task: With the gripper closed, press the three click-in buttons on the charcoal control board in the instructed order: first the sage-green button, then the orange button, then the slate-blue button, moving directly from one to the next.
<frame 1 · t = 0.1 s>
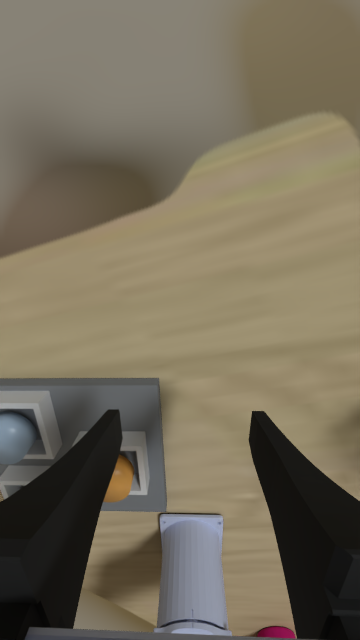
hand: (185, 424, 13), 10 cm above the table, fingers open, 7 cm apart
button blue: (6, 437, 22), point 4 cm above the table, slide at 0.0 cm
button orange: (109, 477, 24), point 4 cm above the table, slide at 0.0 cm
control board: (79, 446, 27), on the table
pepper mill: (275, 633, 41), on the table
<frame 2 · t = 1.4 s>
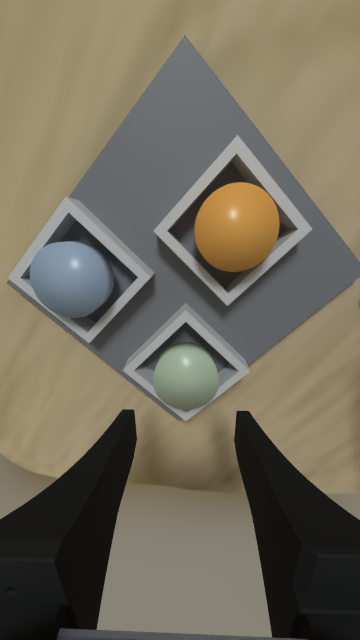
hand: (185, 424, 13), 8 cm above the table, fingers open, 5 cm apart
button blue: (74, 279, 15), point 4 cm above the table, slide at 0.0 cm
button orange: (233, 229, 14), point 4 cm above the table, slide at 0.0 cm
control board: (181, 274, 19), on the table
button sage: (185, 375, 18), point 4 cm above the table, slide at 0.0 cm
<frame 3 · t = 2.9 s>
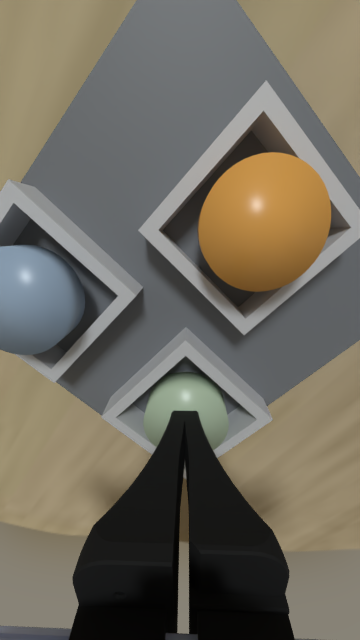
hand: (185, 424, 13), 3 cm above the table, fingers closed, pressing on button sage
button blue: (25, 299, 11), point 4 cm above the table, slide at 0.0 cm
button orange: (257, 228, 9), point 4 cm above the table, slide at 0.0 cm
control board: (179, 288, 14), on the table
button sage: (185, 414, 14), point 3 cm above the table, slide at 1.0 cm, touching gripper
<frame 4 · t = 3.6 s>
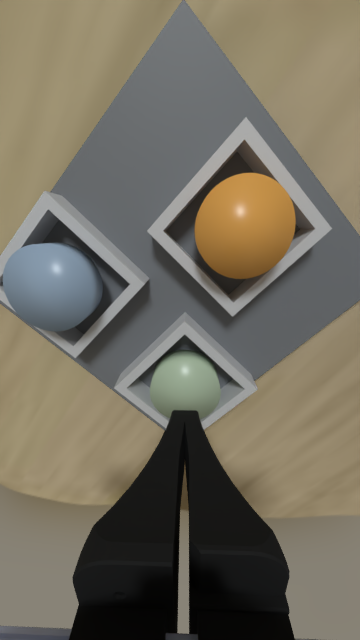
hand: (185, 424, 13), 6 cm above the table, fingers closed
button blue: (56, 286, 13), point 4 cm above the table, slide at 0.0 cm
button orange: (241, 229, 12), point 4 cm above the table, slide at 0.0 cm
control board: (179, 280, 17), on the table
button sage: (185, 385, 16), point 3 cm above the table, slide at 1.0 cm
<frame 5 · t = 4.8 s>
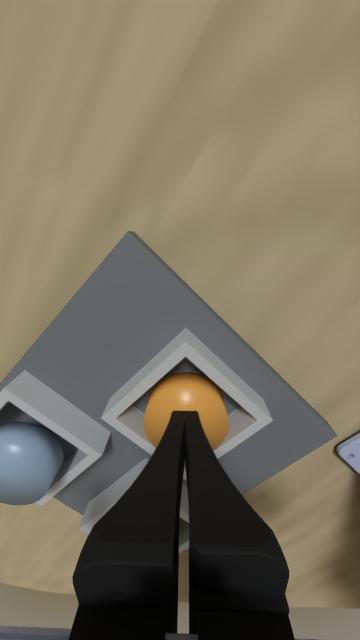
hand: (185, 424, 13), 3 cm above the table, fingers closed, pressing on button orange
button blue: (17, 463, 14), point 4 cm above the table, slide at 0.0 cm
button orange: (185, 414, 14), point 3 cm above the table, slide at 1.0 cm, touching gripper
control board: (142, 423, 17), on the table
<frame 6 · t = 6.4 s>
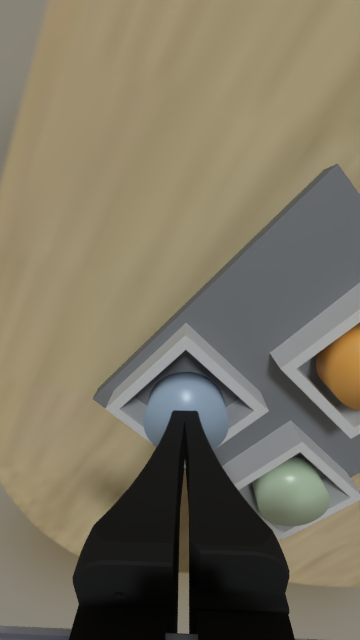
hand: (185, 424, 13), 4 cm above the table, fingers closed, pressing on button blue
button blue: (186, 414, 14), point 3 cm above the table, slide at 0.3 cm, touching gripper
control board: (282, 385, 17), on the table
button sage: (288, 490, 17), point 3 cm above the table, slide at 1.0 cm
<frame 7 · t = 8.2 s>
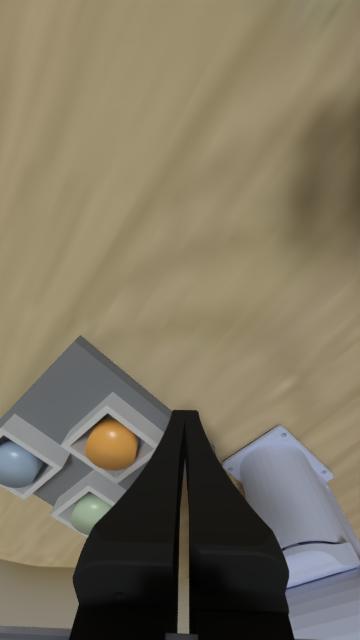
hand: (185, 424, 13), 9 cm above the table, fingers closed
button blue: (15, 463, 24), point 3 cm above the table, slide at 1.0 cm
button orange: (112, 444, 23), point 3 cm above the table, slide at 1.0 cm
control board: (93, 445, 26), on the table
button sage: (95, 513, 26), point 3 cm above the table, slide at 1.0 cm
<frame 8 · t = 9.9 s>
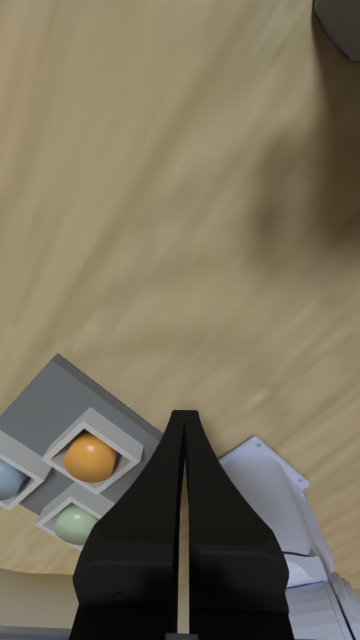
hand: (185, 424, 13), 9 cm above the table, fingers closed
button orange: (91, 457, 23), point 3 cm above the table, slide at 1.0 cm
control board: (76, 457, 27), on the table
button sage: (78, 522, 27), point 3 cm above the table, slide at 1.0 cm
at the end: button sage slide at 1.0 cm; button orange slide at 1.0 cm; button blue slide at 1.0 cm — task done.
